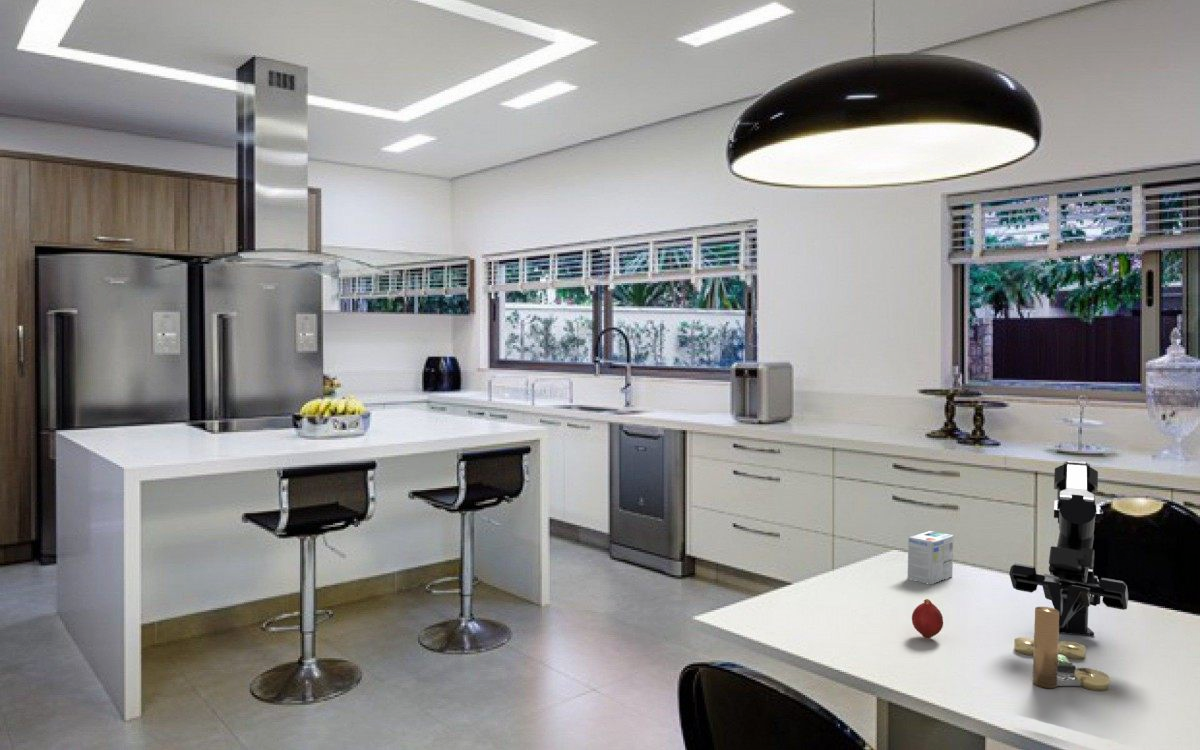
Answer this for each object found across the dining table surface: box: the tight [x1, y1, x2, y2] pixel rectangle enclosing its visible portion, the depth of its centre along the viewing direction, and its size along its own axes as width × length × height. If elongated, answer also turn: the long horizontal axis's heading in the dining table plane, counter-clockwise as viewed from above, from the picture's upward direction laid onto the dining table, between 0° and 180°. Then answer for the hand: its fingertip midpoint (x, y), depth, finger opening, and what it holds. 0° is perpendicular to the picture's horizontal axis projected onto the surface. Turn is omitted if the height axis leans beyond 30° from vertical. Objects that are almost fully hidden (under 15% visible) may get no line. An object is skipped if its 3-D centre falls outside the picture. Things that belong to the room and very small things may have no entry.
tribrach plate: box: [1013, 637, 1086, 674], centre depth 145 cm, size 20×20×3 cm
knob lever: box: [1032, 606, 1110, 692], centre depth 137 cm, size 12×5×13 cm, turn 91°
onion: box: [911, 598, 944, 640], centre depth 162 cm, size 6×6×8 cm
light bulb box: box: [907, 530, 955, 585], centre depth 202 cm, size 11×7×11 cm, turn 130°
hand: (1059, 626), depth 147 cm, fingers closed
